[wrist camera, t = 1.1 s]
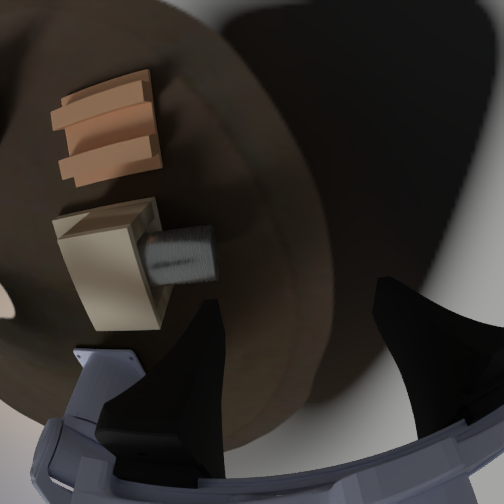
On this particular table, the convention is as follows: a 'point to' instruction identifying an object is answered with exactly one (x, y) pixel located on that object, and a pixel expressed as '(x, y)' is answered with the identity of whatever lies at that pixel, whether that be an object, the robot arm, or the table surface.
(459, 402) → the robot arm
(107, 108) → the cradle
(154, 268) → the axle
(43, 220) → the table surface
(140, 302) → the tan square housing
